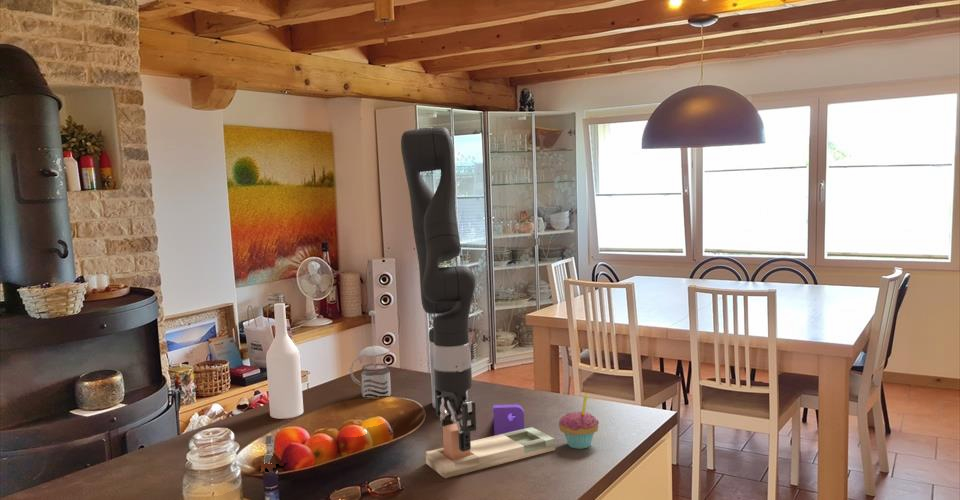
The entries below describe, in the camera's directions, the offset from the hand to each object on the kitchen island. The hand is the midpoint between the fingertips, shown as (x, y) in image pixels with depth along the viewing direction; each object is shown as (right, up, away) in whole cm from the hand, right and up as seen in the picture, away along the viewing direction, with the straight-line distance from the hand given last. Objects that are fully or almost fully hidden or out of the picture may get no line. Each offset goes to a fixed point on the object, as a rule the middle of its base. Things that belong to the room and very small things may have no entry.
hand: (456, 444), depth 141 cm
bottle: (-44, -4, +34) cm, 55 cm away
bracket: (+12, -3, +22) cm, 25 cm away
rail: (+7, -4, +4) cm, 9 cm away
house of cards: (-36, -6, +1) cm, 37 cm away
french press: (-24, -2, +47) cm, 53 cm away
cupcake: (+26, -3, +9) cm, 28 cm away
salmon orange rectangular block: (0, -3, 0) cm, 3 cm away
